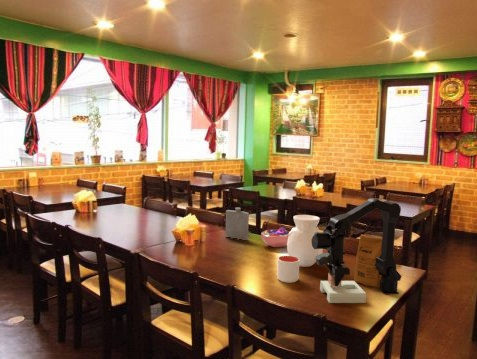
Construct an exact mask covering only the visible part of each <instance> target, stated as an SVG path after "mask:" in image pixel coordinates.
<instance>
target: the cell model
mask: <svg viewBox="0 0 477 359" xmlns="http://www.w3.org/2000/svg"><path fill="white" fill-rule="evenodd" d="M290 231H291V230H287V229H286V228H285V227H282V226H280V227H279V229H267V230H264V231H262V232H261V234H260V235H261V240H262V241H263V243H265V244H266V245H267V246H269V247H272V248H284V247H285V246H287V242H288V237H289V232H290Z"/></svg>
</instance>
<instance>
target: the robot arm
mask: <svg viewBox="0 0 477 359" xmlns="http://www.w3.org/2000/svg"><path fill="white" fill-rule="evenodd" d="M375 210H379V211H380V217H381V218H382V237H381V238H382V250H381V255H380V256H379V257H376V264H375V266H376V269H377V270H378V272H379V275H381V280H380V285H379V286H378V290H380V291H381V292H382V293H383V294H385V295H399V294H400V293H399V291H398V284H399V282H400V281H401V279H402V274H400V272H399V271H397V263H396V260H395V257H394V252H395V251H394V248H395V232H396V223H397V221H398V220H399V219H400V216H401V211H402V208H401V206H400V204H399V203H396V202H393V201H390V200H384V201H383V200H382V201H381V200H380V199H378V198H374V197H369V198H368V199H367V200H366V201H364V202H363V203H360V204H359V205H357V206H356V207H355V208H353V209H351V210H349V211H348V212H346V213H342V214H338V215H336V216H333V217H330V219H329V221H328V223H327V225H326V226H325V228H324V229H323V230H322V232H315V233H314V236H313V237H312V246H313V248H314V249H323V250H324V249H327V250H326V251H327V252H322V254H320V255H317V256H315V258H316V262H315V263H316V264H317V265H318V266H319V267H323V266H326V267H327V268H328V271H329V273H333V274H334V282H335V286H338V285H339V283H340V281H341V280H342V281H343V278H344V276H345V275H346V276H347V275H348V276H350V275H351V269H350V268H349V267H348V266H347V265H346V264H345V261H344V255H345V254H346V251H345V250H344V249H345V238H350V235H348V233H347V231H348V230H349V229H350V228H351V227H352V225H353V224H354V223H355V222H357V221H358V220H360V219H361V218H363V217H365V216H366V215H368V214H370V213H372V212H374V211H375Z"/></svg>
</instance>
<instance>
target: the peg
mask: <svg viewBox="0 0 477 359" xmlns="http://www.w3.org/2000/svg"><path fill="white" fill-rule="evenodd" d="M327 274H328V276H327V281H328V283H329V284H330V285H331V286H332V288H337V286H335V282H334V274H333V273H330V272H328V273H327ZM342 281H343V279H342V280H341V281H340V283H339V285H338V286H341V283H342Z"/></svg>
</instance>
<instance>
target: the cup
mask: <svg viewBox="0 0 477 359" xmlns="http://www.w3.org/2000/svg"><path fill="white" fill-rule="evenodd" d="M299 262H300V260H299V258H297V257H294V256H289V255H281V256H279V257H278V258H277V270H276V273H277V275H276V277H277V280H279V281H280V282H282V283H286V284H287V283H288V284H289V283H291V284H292V283H295V282H297V281H299V279H300V266H299Z"/></svg>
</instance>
